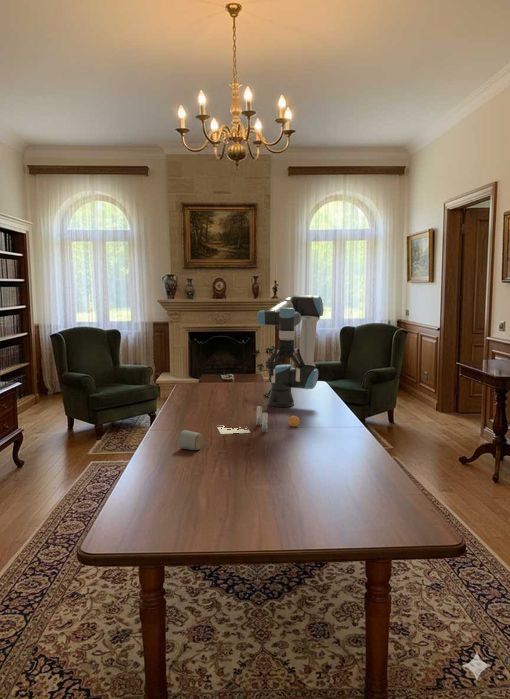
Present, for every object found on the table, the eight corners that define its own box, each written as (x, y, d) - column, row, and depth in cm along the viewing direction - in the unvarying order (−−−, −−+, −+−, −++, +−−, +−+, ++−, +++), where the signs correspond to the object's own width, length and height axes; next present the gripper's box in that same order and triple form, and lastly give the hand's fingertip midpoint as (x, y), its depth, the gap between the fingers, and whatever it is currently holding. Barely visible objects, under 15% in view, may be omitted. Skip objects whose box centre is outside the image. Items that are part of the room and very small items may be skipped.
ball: (297, 425, 249) (297, 414, 248) (300, 428, 243) (301, 416, 243) (286, 425, 248) (287, 414, 247) (289, 428, 242) (290, 417, 242)
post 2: (266, 430, 238) (267, 412, 236) (267, 432, 235) (268, 413, 234) (261, 431, 237) (261, 412, 236) (262, 432, 235) (263, 413, 233)
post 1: (260, 423, 250) (261, 406, 249) (262, 425, 247) (262, 407, 246) (256, 424, 249) (256, 406, 248) (257, 425, 247) (257, 407, 246)
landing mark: (244, 424, 247) (244, 424, 247) (250, 432, 234) (250, 432, 234) (216, 426, 245) (216, 425, 245) (220, 434, 231) (220, 433, 231)
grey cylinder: (196, 452, 205) (196, 434, 204) (178, 450, 207) (178, 432, 206) (206, 445, 215) (207, 428, 214) (189, 443, 217) (189, 426, 216)
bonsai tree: (252, 391, 330) (253, 343, 326) (289, 391, 330) (290, 343, 326) (252, 403, 295) (253, 349, 291) (293, 403, 295) (295, 350, 292)
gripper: (305, 338, 255) (304, 379, 258) (260, 339, 246) (259, 381, 248) (312, 339, 248) (311, 381, 251) (266, 340, 239) (265, 384, 241)
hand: (285, 381), depth 249 cm, fingers open, 13 cm apart
